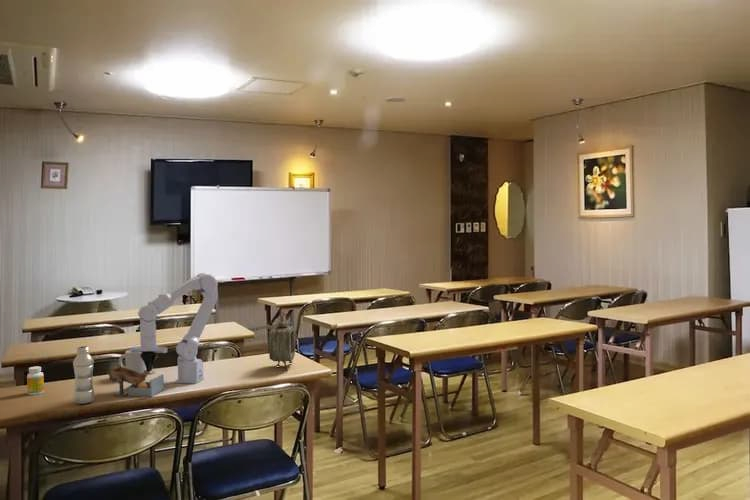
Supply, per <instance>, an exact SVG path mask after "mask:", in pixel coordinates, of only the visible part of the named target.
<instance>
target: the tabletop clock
mask: <svg viewBox="0 0 750 500" xmlns="http://www.w3.org/2000/svg"><path fill="white" fill-rule="evenodd" d="M279 317H280V321H279V322H277V323H276V326H274V328H272V329H271V330H270V331H269V333H268V352H269V353H268V354H269V356H268V357H269V360H271V361H273V362H277V364H276V366H280V367H281V365H280V363H281V362H282V363H283V364H284V366H285V367H284V370H285V369H288V370H289V367H288V366H287V362H288V364H289V363H292V364H293V359H294V358H295V355H296V337H295V335H296V333H295V332H296V331H295V330H296V329H295V326H289V323H288V322H287V321H285V311H284V310H281V312H280V316H279ZM276 366H275V367H276Z"/></svg>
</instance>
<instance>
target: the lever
mask: <svg viewBox="0 0 750 500" xmlns="http://www.w3.org/2000/svg"><path fill="white" fill-rule="evenodd" d="M124 367H125V366H124ZM124 367H121V366H118V367H115V368H113V369H111V370H109V373H108V377H109V378H108V381H110V382H112V383H114V382H116V381H117V380H118V379H119V378H123V382H125V383H128V384H131V385H132V384H134V385H137V384H139V383H140V382H146V379H147V377H146V375H148V376H149V375H150V376H151V375H153V374H156V370H153V369H152V370H151V371H147V370H145V371H144V373H139V372H136V371H133V370H130V369H127V368H124ZM117 382H118V381H117Z"/></svg>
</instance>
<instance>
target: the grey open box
mask: <svg viewBox="0 0 750 500" xmlns="http://www.w3.org/2000/svg"><path fill="white" fill-rule="evenodd" d="M164 380H165V379H164V374H160V375H158V376H156V377H155V378H153V379H150V380H149V381H144V382H145V383H146V384H147V388H137V385H138V384H137V385H134V384H133V385H132V384H131V385H129V386H128V396H127V397H142V398H143V397H147V398H152V397H154V396H156V395H158V394H160V393H161V392H163V391H164V389H165V387H164V386H165V382H164Z"/></svg>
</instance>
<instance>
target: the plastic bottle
mask: <svg viewBox="0 0 750 500" xmlns="http://www.w3.org/2000/svg"><path fill="white" fill-rule="evenodd" d="M89 347H90V346H87V345H85V346H84V345H83V346H77V347H76V353H77V355H76V356H75V357H74V359H73V361H72V366H73V371H74V378H75V379H74V380H75V383H74V392H73V401H74V402H75V404H79V405H80V404H82V405H84V404H85V405H86V404H89V403H93V402H94V399H95V395H96V394H95V393H96V392H95V389H94V383H93V382H94V381H93V372H94V363H95V362H94V361H95V360H94V358H93V357H92V355H91V354H90V350H89Z"/></svg>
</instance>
